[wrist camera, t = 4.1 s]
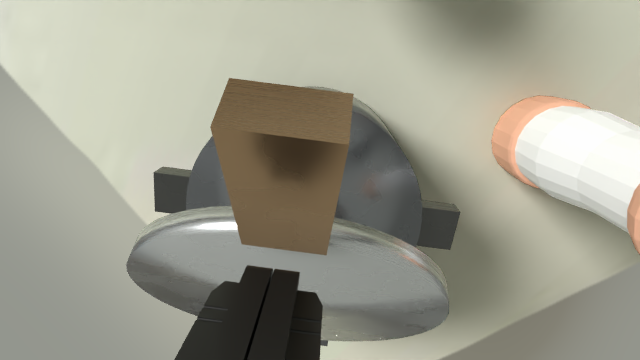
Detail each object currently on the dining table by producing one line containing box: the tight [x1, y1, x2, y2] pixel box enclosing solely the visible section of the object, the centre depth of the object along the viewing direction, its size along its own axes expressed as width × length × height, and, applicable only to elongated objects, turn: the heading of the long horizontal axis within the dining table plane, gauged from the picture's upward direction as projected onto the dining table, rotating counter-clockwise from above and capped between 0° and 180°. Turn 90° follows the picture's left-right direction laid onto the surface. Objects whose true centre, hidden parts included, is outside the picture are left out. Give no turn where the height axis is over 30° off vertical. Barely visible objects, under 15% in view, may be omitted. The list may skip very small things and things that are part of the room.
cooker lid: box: [126, 78, 449, 341], centre depth 17 cm, size 17×23×3 cm
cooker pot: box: [154, 87, 460, 346], centre depth 30 cm, size 22×18×10 cm
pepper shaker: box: [492, 96, 640, 254], centre depth 23 cm, size 7×7×19 cm
